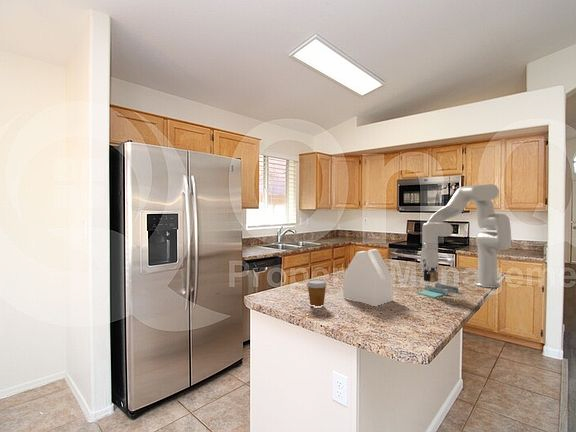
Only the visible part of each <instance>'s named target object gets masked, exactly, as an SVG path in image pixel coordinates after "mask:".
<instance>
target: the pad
mask: <svg viewBox="0 0 576 432" xmlns="http://www.w3.org/2000/svg"><path fill="white" fill-rule="evenodd" d="M416 294H418V295H422V296H425V297H429V298H433V299H436V298H439V297H443V296H444V295H443V294H440V293H436V292H432V291H427V290H425V289H424V290H422V291H418V292H416Z"/></svg>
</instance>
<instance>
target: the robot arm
mask: <svg viewBox="0 0 576 432" xmlns="http://www.w3.org/2000/svg"><path fill="white" fill-rule="evenodd" d="M499 190H500V189H499V187H498V186H497V185H496V184H492V183H491V184H477V185H476V184H475V185H463V186H460V187H458V188H457V189H456V190H455V192H454V193H453V195H452V196H451V197H450V199H449V201H448V202H447V204H446V205H444V206H443V207H442V208H439V210H437V211H436V212H434V213H433V214H432V215H431V216H430V218H429V219H428V221H427V222H424V223H422V229H421V230H422V231H421V234H422V235H421V236H422V244H421V245H422V246H421V250H420V251H421V252H420V257H419V259H420V260H419V266H420V269H421V271H422V273H423V281H425V282H429V281H430V274H429V271H430V270H434V271H436V272H438V271H437V270H438V267H439V266H440V265H439V262H440V261H439V250H438V249H439V237H449V236H450V235H452V234H453V231H454V227H453V226H452V224H450V223H448V222H444V221H446V220H449V219H451V218H455V217H457V216H459V215H461V214H462V212H463V211H464V210H465V208H466V206H467V205H468V203H469V202H472V203H474V205H475V207H476V218H477V225H478V227H479V228H480V229H481V230H488V231H481V232H479V233H478V234H477V235H476V238H475V242H476V243H475V244H476V245H477V281H475V282H474V285H476V286H478V287H483V288H489V287H490V288H493V289H494V288H495V289H496V288H501V283H499V282H498V281H500V278H499V277H498V253H497V252H496V250H502V251H503V250H506V251H507V250H508V249H510V247H511V245H512V230H511V228H512V227H511V221H510V218H509V217H508V215H507V214H504V213H496V212H495V207H494V203H493V201H492V200H495V199H496V198H497V197H499V193H500V191H499ZM490 288H489V289H490Z"/></svg>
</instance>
